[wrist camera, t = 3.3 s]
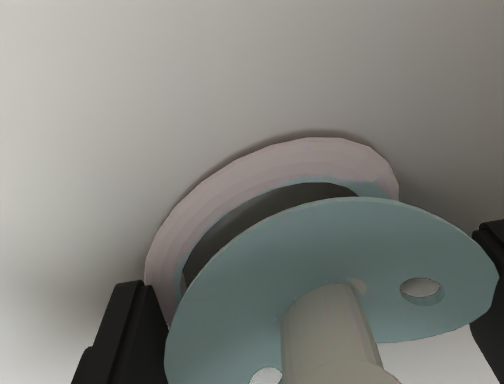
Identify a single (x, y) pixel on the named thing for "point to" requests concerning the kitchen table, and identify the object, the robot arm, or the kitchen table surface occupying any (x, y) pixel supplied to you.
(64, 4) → the kitchen table surface
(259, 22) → the kitchen table surface
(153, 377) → the robot arm
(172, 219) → the pacifier
